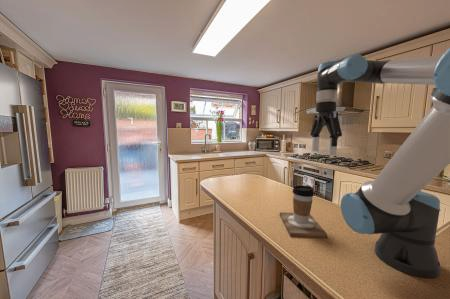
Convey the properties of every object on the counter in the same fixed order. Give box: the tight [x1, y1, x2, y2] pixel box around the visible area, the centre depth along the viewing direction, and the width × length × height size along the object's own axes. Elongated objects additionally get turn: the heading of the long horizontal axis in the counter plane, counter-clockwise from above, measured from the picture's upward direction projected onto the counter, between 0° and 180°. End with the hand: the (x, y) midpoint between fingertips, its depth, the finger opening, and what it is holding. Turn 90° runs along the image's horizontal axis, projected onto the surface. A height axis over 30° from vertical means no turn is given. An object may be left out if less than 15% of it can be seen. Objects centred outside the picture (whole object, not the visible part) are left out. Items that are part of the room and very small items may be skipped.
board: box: [279, 211, 328, 239], centre depth 82 cm, size 18×14×2 cm
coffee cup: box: [292, 185, 315, 224], centre depth 81 cm, size 8×8×15 cm
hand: (323, 153), depth 81 cm, fingers open, 13 cm apart
